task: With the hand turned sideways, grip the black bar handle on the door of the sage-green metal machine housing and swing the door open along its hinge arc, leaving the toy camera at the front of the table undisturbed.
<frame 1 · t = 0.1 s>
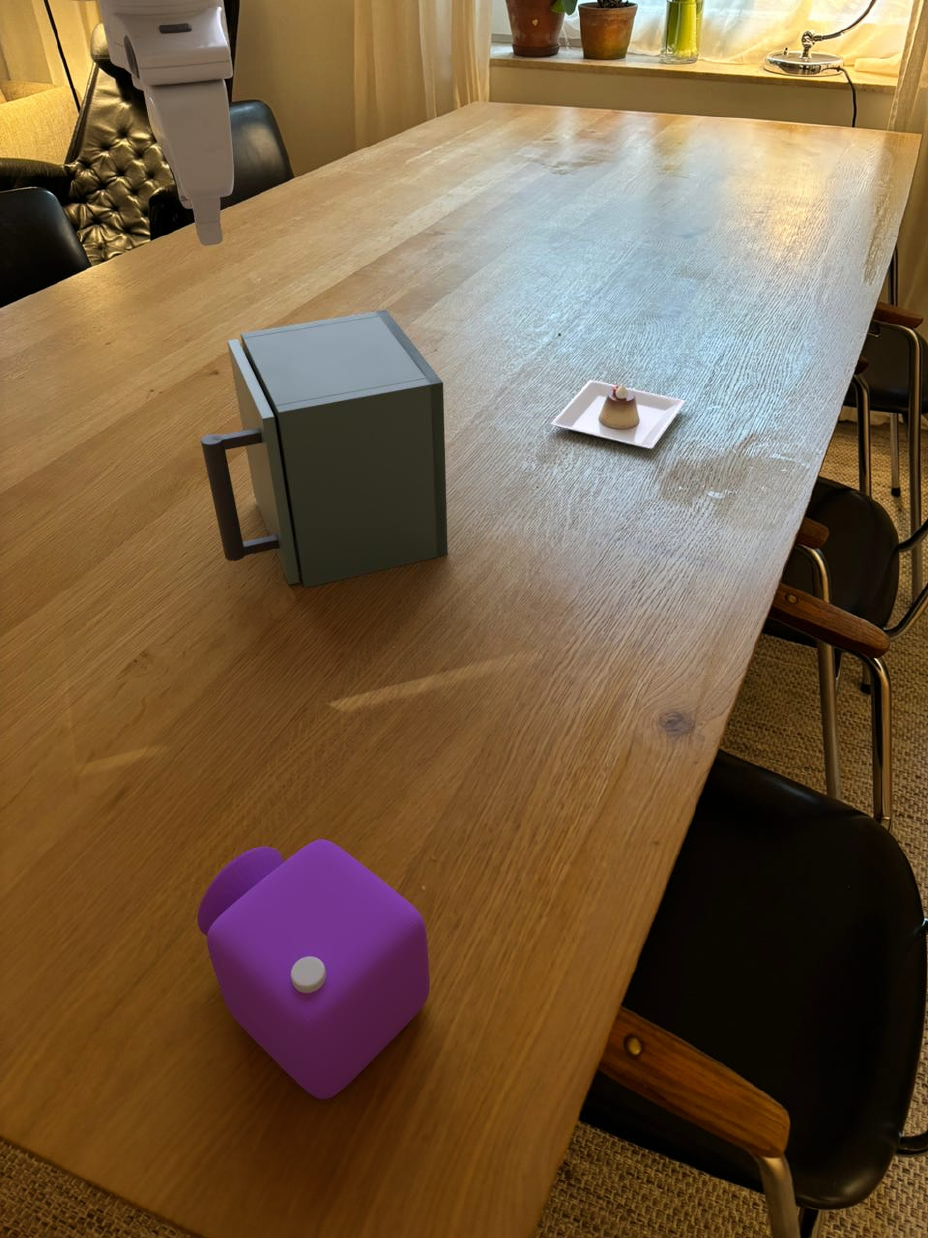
hand: (201, 223, 82), 29 cm above the table, tool pointing down, fingers open, 8 cm apart
door: (236, 466, 90), point 9 cm above the table, hinge at 0.0°
dessert: (618, 422, 114), on the table
toy camera: (312, 994, 61), on the table
housing: (354, 525, 98), on the table
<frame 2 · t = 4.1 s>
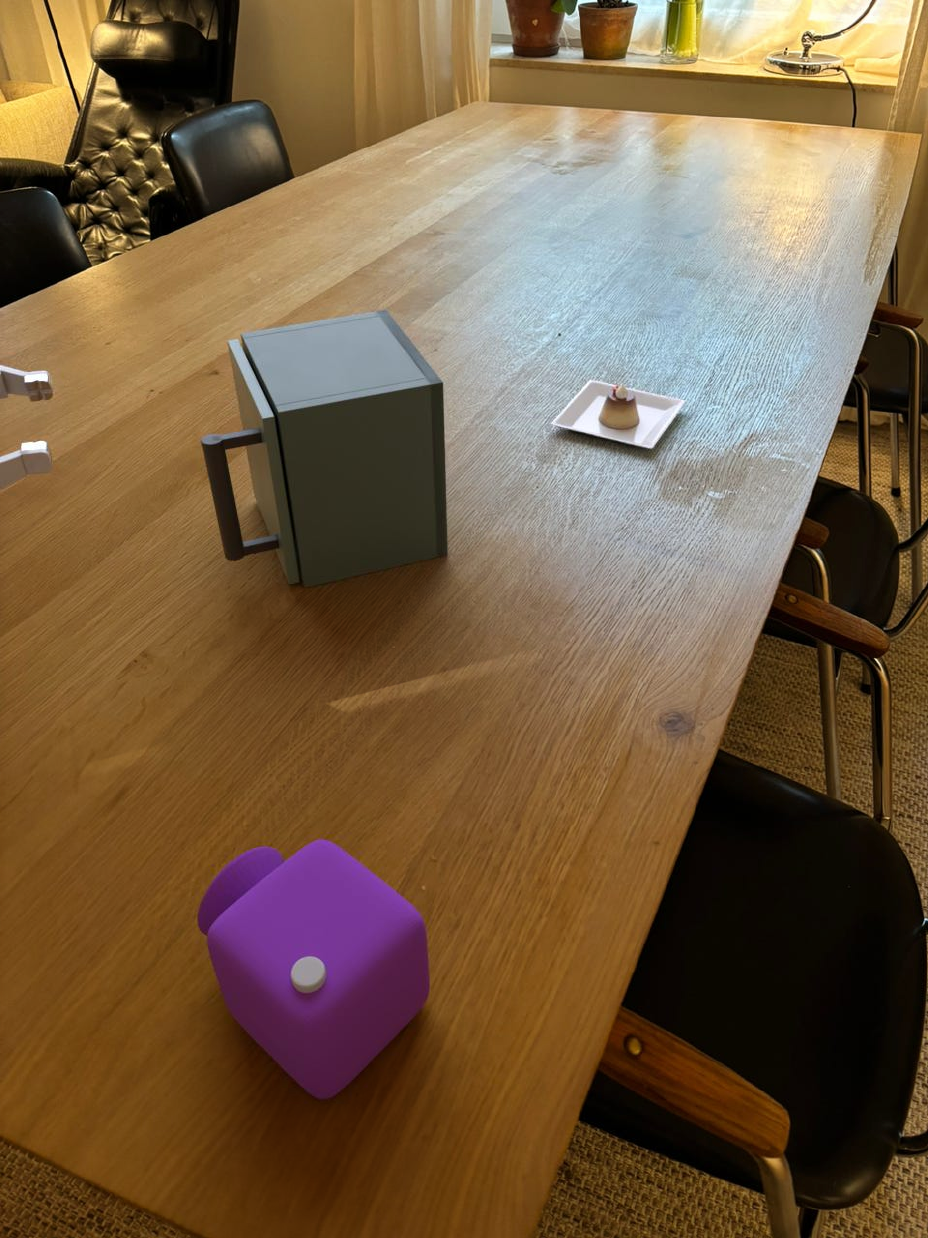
hand: (51, 418, 75), 20 cm above the table, tool horizontal, fingers open, 8 cm apart
nothing on the table moved.
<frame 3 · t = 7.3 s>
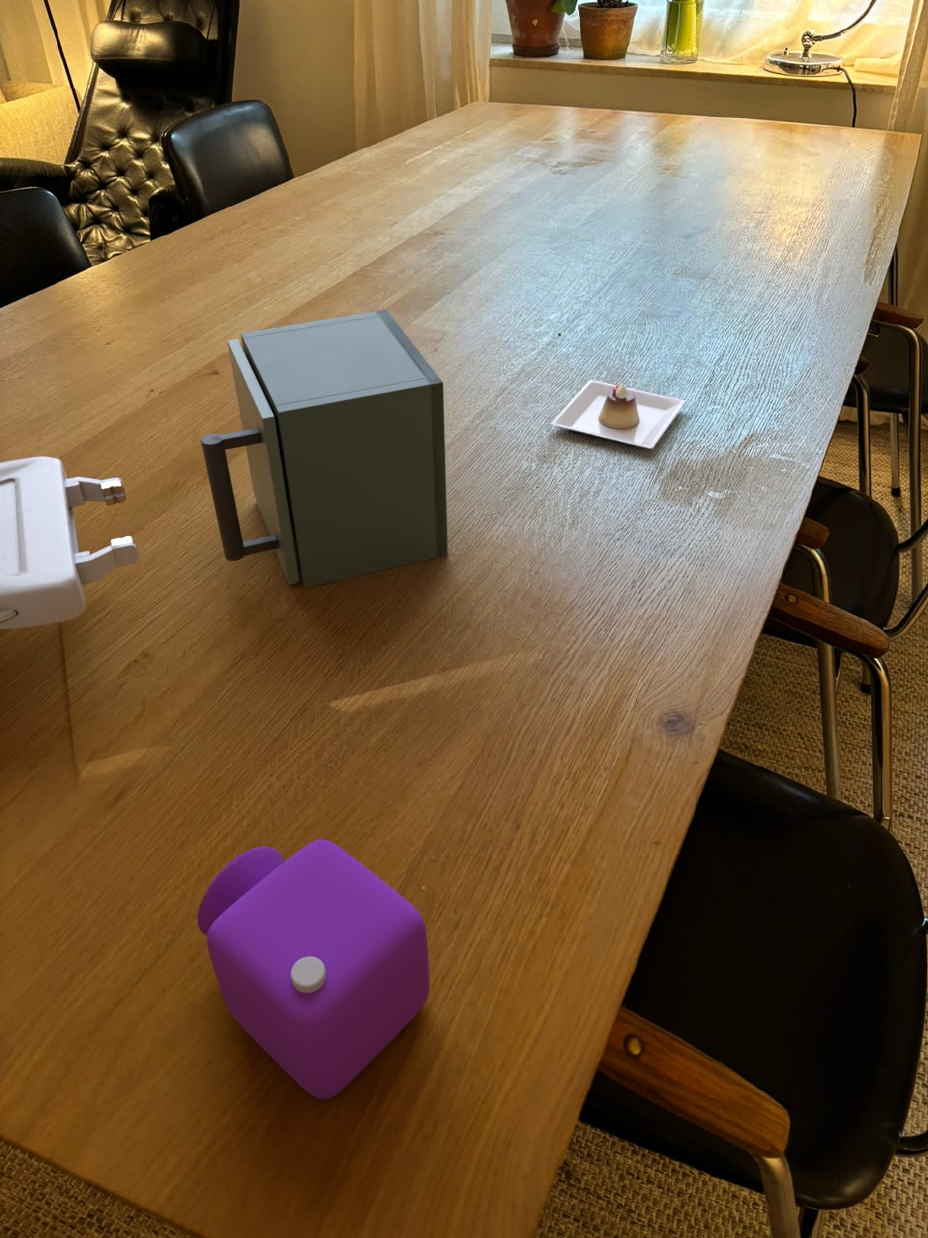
hand: (130, 517, 84), 9 cm above the table, tool horizontal, fingers open, 8 cm apart
nothing on the table moved.
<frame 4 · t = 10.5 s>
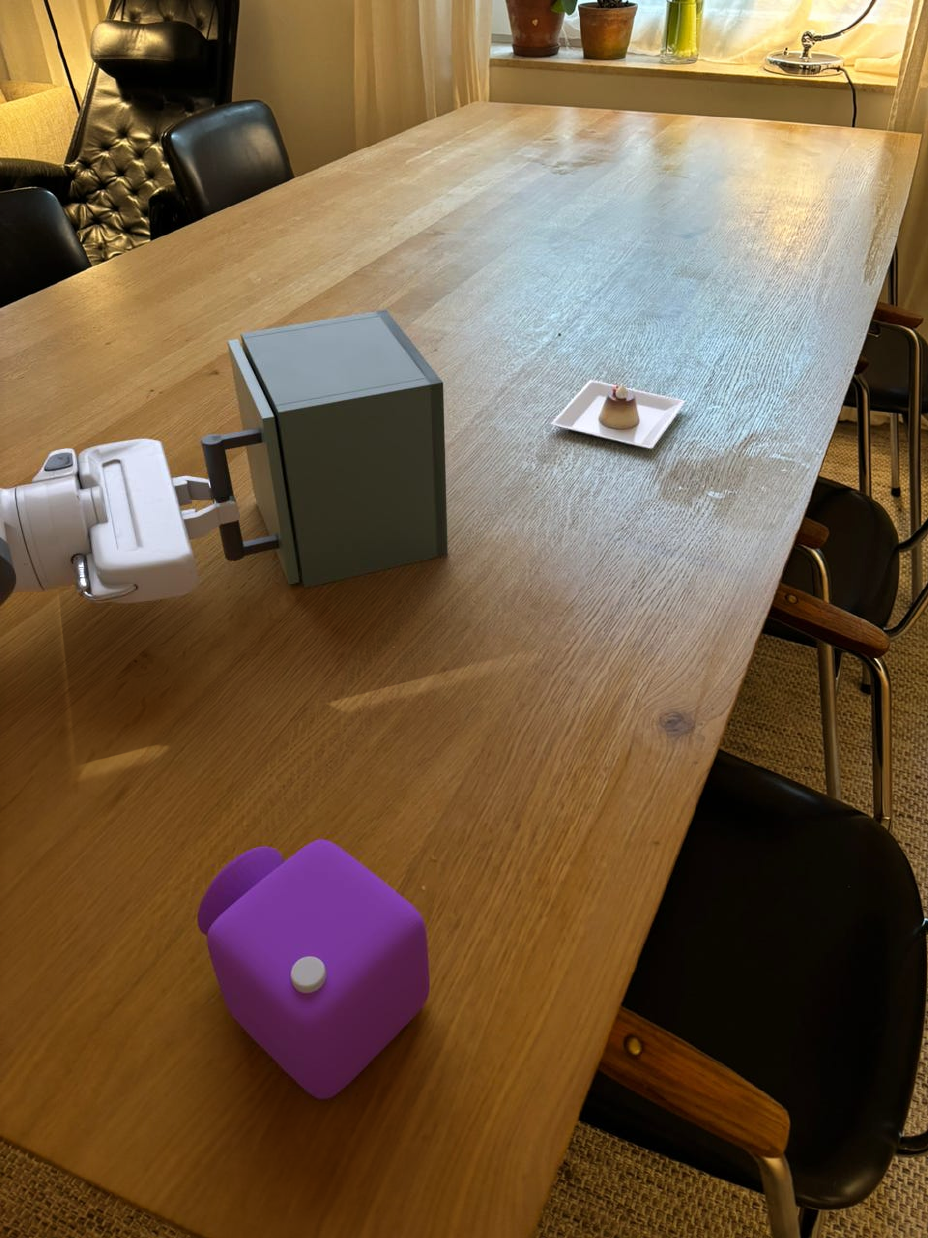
hand: (234, 497, 86), 9 cm above the table, tool horizontal, fingers closed on door, 2 cm apart
door: (236, 466, 90), point 9 cm above the table, hinge at 0.0°, touching gripper
everything else where it was.
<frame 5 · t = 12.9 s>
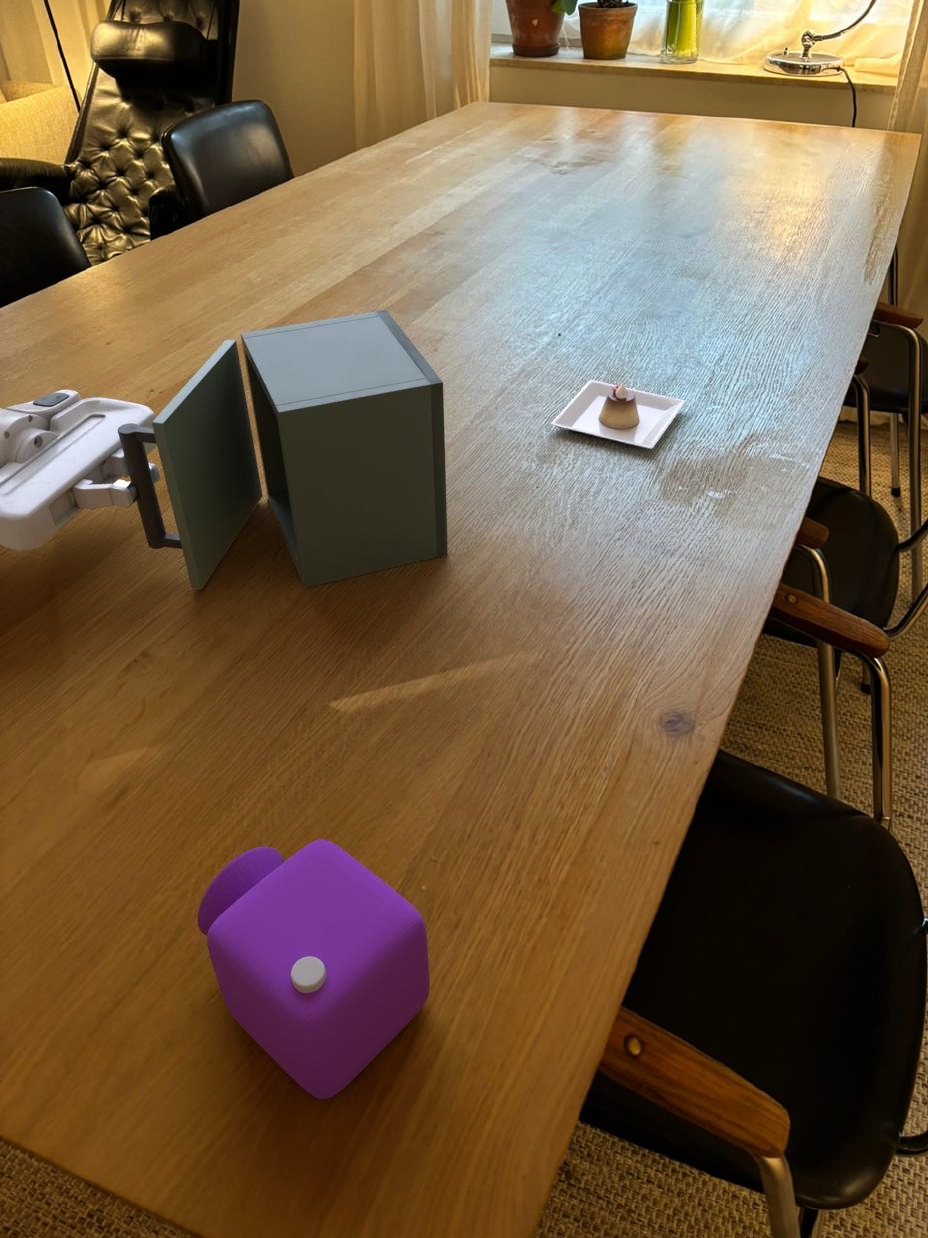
hand: (144, 485, 87), 9 cm above the table, tool horizontal, fingers closed on door, 2 cm apart
door: (189, 461, 91), point 9 cm above the table, hinge at 32.5°, touching gripper
everything else where it was.
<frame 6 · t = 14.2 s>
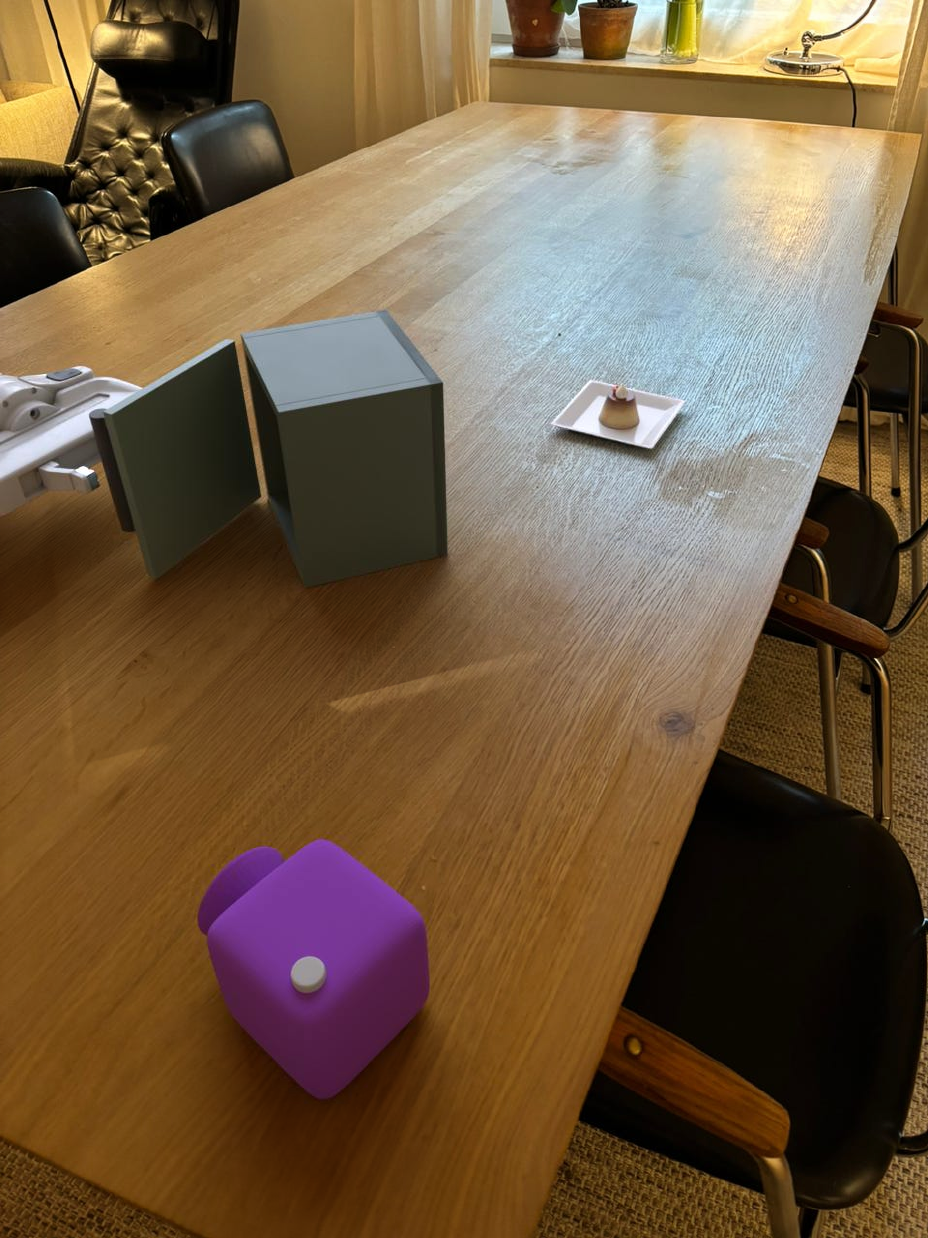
hand: (116, 469, 90), 9 cm above the table, tool horizontal, fingers open, 4 cm apart
door: (170, 452, 92), point 9 cm above the table, hinge at 49.8°
everything else where it was.
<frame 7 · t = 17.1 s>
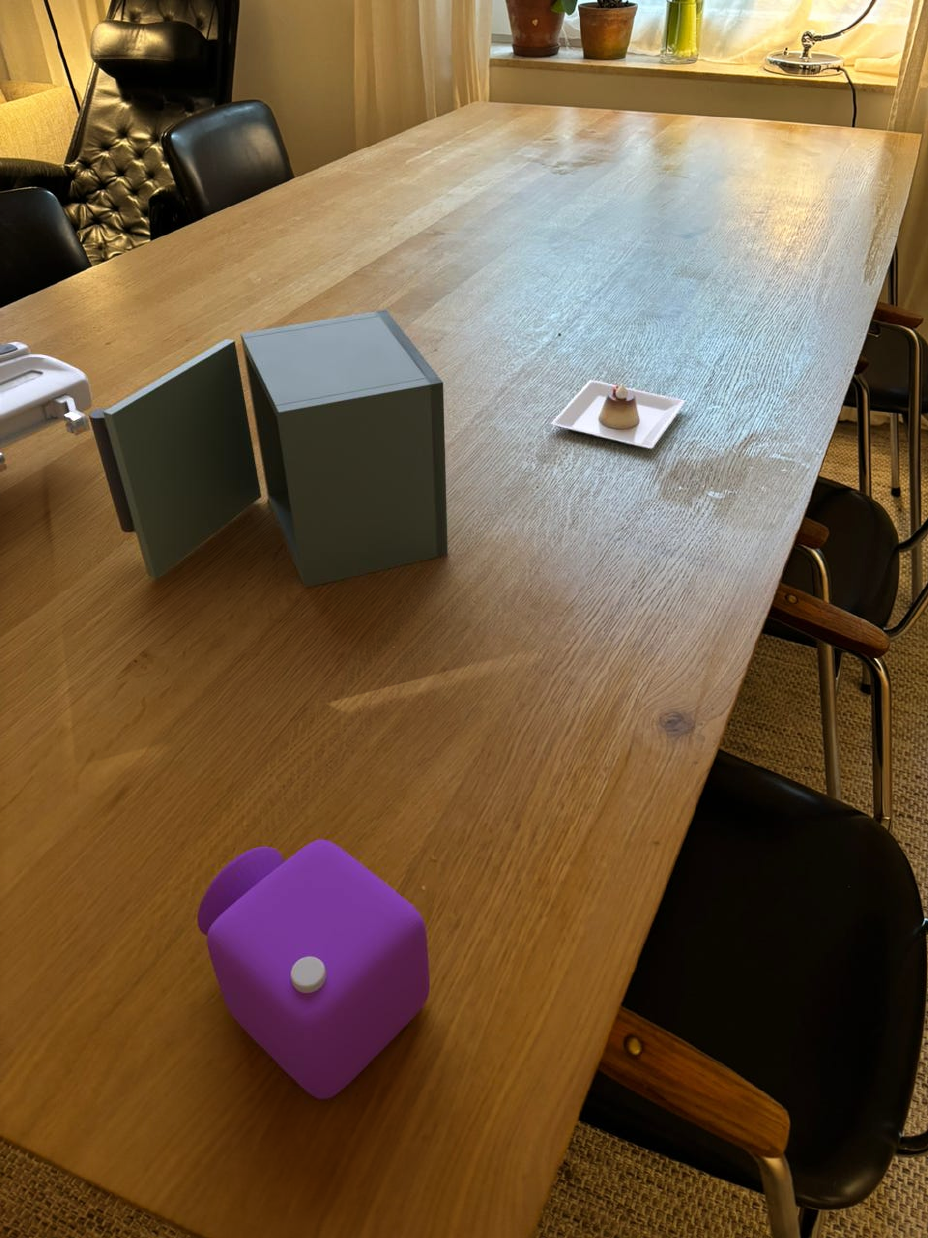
hand: (42, 445, 95), 8 cm above the table, tool horizontal, fingers open, 8 cm apart
nothing on the table moved.
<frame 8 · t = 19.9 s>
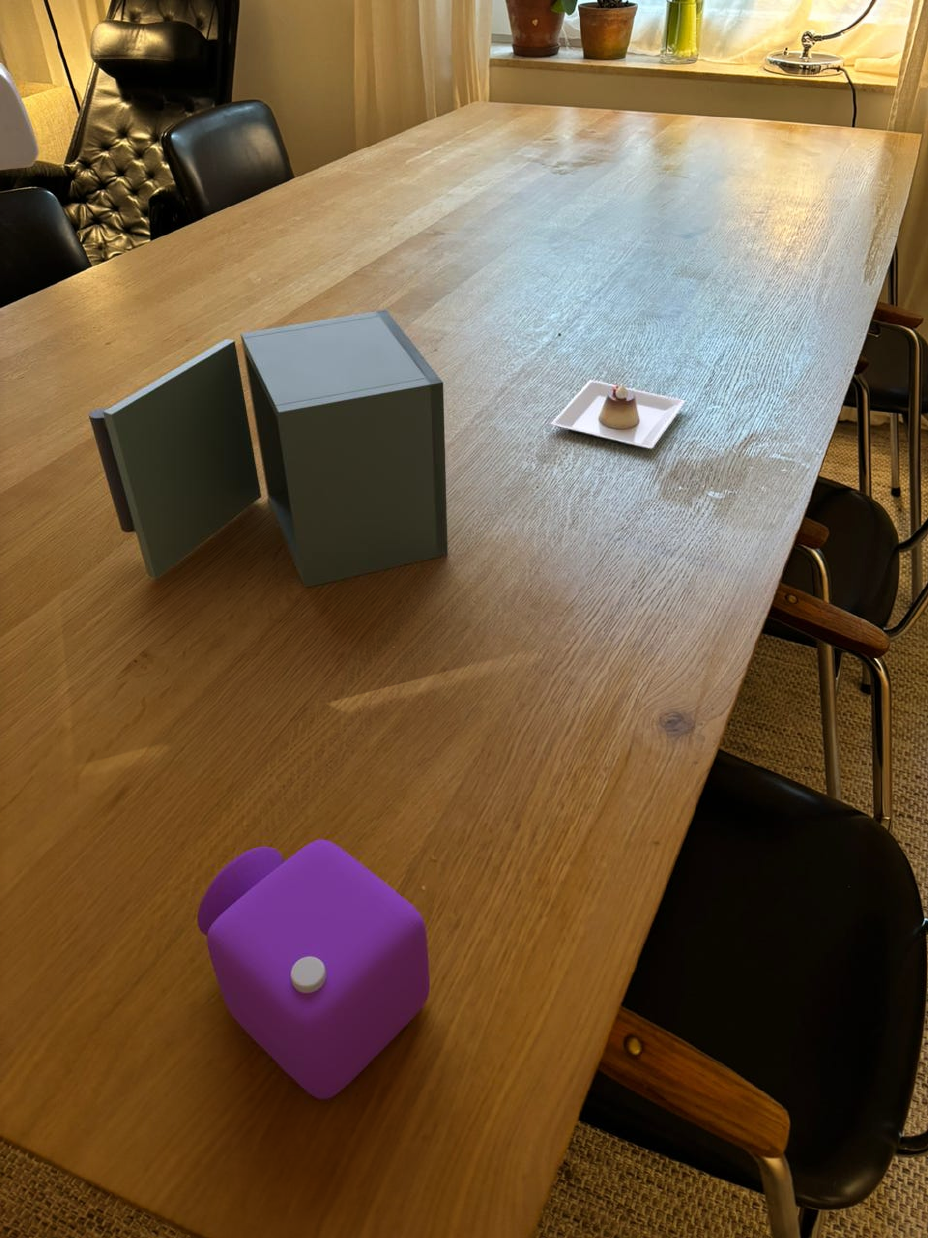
nothing on the table moved.
at the end: door at +50° (first picture: +0°); the gripper is holding nothing; toy camera moved 0.2 cm from its start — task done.
